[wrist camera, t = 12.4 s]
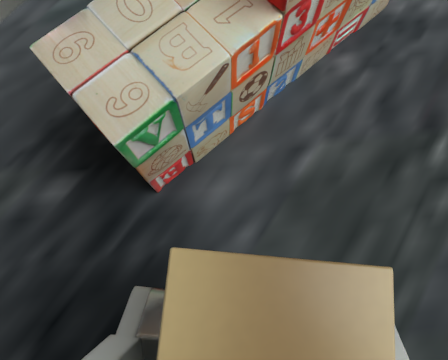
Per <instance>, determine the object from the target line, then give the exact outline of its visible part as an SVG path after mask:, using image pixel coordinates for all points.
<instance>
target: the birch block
mask: <svg viewBox="0 0 448 360" xmlns="http://www.w3.org/2000/svg"><path fill="white" fill-rule="evenodd" d="M156 360H395V329H394V291H393V269H392V268H391V267H385V266H374V265H363V264H352V263H340V262H329V261H318V260H307V259H296V258H285V257H274V256H263V255H252V254H241V253H230V252H219V251H208V250H197V249H186V248H175V247H172V248H171V249H170V253H169V261H168V269H167V277H166V285H165V293H164V302H163V310H162V318H161V326H160V334H159V342H158V350H157V358H156Z"/></svg>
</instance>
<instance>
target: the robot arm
mask: <svg viewBox="0 0 448 360" xmlns="http://www.w3.org/2000/svg"><path fill="white" fill-rule="evenodd" d="M164 293H165V289H160V288H151V287H141V286H135V287H134V288H133V290H132V292H131V294H130V297H129V300H128V302H127V305H126V308H125V310H124V313H123V316H122V319H121V321H120V324H119V327H118V329H117V332H116V335H109V336H108V337H107V338H106V339H105V340H104V341H102V342H101V343H100V344H99V345H98V346H97V347H95V348H94V349H93V350H92V351H91V352H90V353H88V354H87V355H86V356H85V357H84V358H83V359H82V360H156V358H157V350H158V342H159V334H160V326H161V318H162V310H163V302H164ZM394 329H395V360H409V358H408V355H407V353H406V351H405V348H404V346H403V344H402V341H401V339H400V337H399V334H398V332H397V330H396V327H395V325H394Z"/></svg>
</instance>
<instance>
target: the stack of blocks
mask: <svg viewBox="0 0 448 360" xmlns="http://www.w3.org/2000/svg"><path fill="white" fill-rule="evenodd" d="M388 2H389V0H93V1H92V2H90V3H89V4H88V5H87V8H86V9H84V10H81V11H80V12H79V13H77V14H76V15H74V16H73V17H71V18H70V19H68V20H67V21H65V22H64V23H63V24H61V25H60V26H58V27H56V28H55V29H53V30H51V31H50V32H49V33H48V34H47V35H45V36H43V37H42V38H40V39H39V40H37V41H36V42H34V43H33V44H32V45H31V46H30V47H29V48H30V49H31V50H32V52H33V53H34V54H35V55H36V56H37V58H38V59H39V60H40V61H41V62H42V63H43V65H44V66H45V67H46V68H47V69H48V70H49V72H50V73H51V74H52V75H53V76H54V78H55V79H56V80H57V81H58V82H59V83H60V85H61V86H62V87H63V88H64V89H65V91H66V92H67V93H68V94H69V95H70V96H71V97H72V99H73V100H74V101H75V102H76V103H77V104H78V105H79V107H80V108H81V109H82V110H83V111H84V112H85V113H86V115H87V116H88V117H89V118H90V119H91V121H92V122H93V123H94V125H95V126H96V127H97V128H98V129H99V130H100V132H101V133H102V134H103V135H104V136H105V137H106V138H107V139H108V140H109V141H110V142H111V143H112V145H113V146H114V147H115V148H116V149H117V150H118V151H119V152H120V153H121V155H122V156H123V157H124V158H125V159H126V160H127V161H128V162H129V163H130V164H131V165H132V166H133V167H134V168H136V169H137V171H138V172H139V173H140V174H141V176H142V177H143V178H144V179H145V181H146V182H148V183H149V184H150V185H151V187H152V188H153V189H154V190H155V191H156V192H157V193H158V192H159V191H160V190H161V189H162V187H163V186H164V185H165V184H168V183H169V182H170V181H171V180H172V179H174V178H175V177H176V176H177V175H179V174H180V173H181V172H182V171H183V170H184V169H185V167H187V166H190V165H192V164H193V163H194V162H198V161H199V160H200V159H201V158H202V157H204V156H205V155H206V154H207V153H208V152H210V151H211V150H212V149H213V148H214V147H216V146H217V145H218V144H219V143H220V142H222V141H223V140H224V139H225V138H227V137H228V136H229V135H230V134H231V133H232V132H234V130H235V128H236V127H237V126H240V125H241V124H242V123H243V122H245V121H246V120H247V119H248V118H250V117H251V116H252V115H253V113H254V112H256V111H257V110H260V109H262V108H263V106H264V105H265V104H266V103H267V100H268V99H269V98H271V97H273V96H275V95H277V94H278V93H279V92H280V91H282V90H283V89H284V88H285V85H287V84H288V83H289V82H293V81H294V80H295V79H297V78H298V77H299V76H300V75H301V74H303V73H304V72H305V71H306V70H307V69H309V68H310V67H311V66H312V65H314V64H315V63H316V62H317V61H318V60H320V59H321V58H322V57H323V56H324V55H326V54H328V53H329V52H330V51H331V49H332V48H334V47H335V46H336V45H337V44H339V43H340V42H341V41H342V40H344V39H345V38H346V37H347V36H349V35H350V34H351V33H354V32H355V31H357V30H358V29H360V28H361V27H362V26H364V25H365V24H366V23H367V22H368V21H370V20H371V19H372V18H373V17H375V16H376V15H377V14H378V13H379V12H381V11H382V10H383V9H384V8H385V7H386V6H387V4H388Z"/></svg>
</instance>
